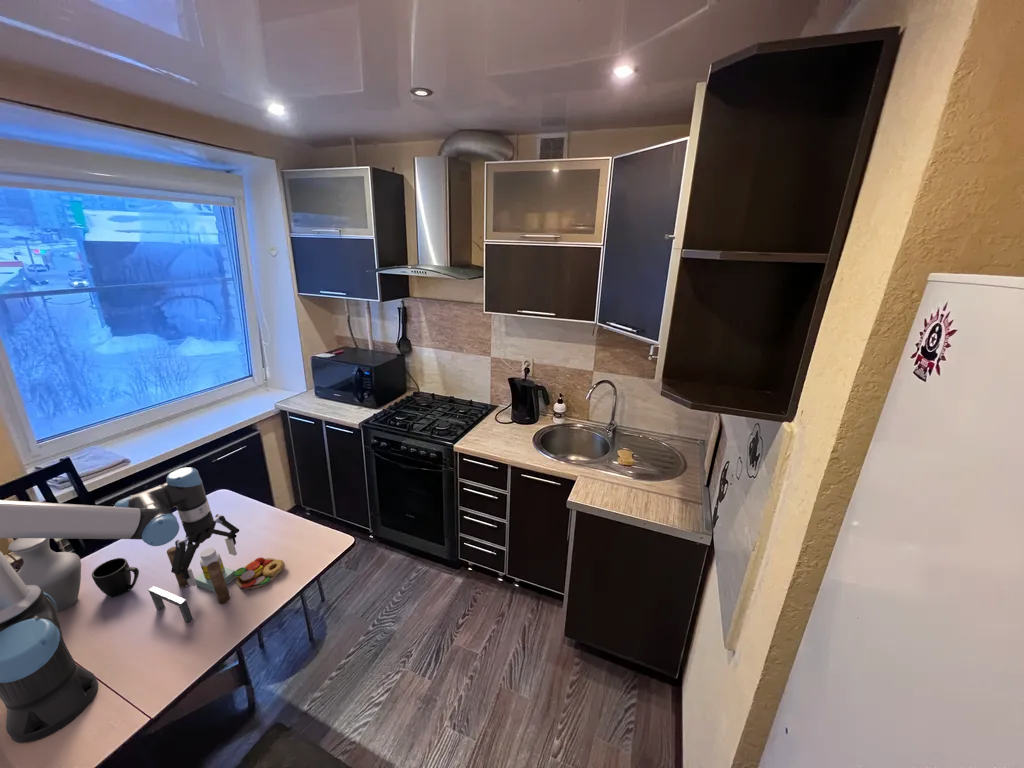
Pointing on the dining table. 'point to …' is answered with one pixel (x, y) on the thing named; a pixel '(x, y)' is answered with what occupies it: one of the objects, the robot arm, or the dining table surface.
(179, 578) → the post far
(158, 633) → the dining table surface
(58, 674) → the robot arm
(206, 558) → the supplement bottle
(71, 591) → the vase
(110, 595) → the mug
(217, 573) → the post near
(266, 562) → the toy food set
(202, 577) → the stand
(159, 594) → the rail hurdle
